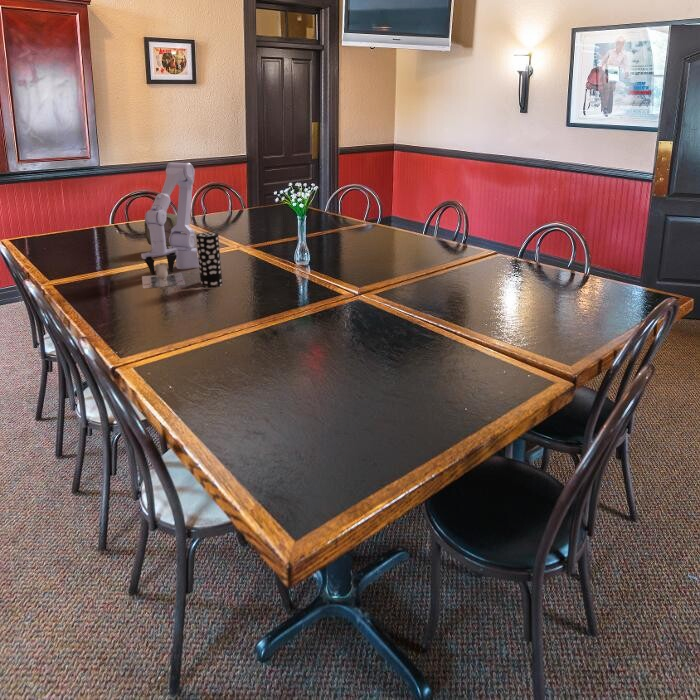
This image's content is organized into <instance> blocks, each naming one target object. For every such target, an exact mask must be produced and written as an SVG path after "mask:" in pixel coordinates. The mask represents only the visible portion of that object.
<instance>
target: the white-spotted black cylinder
mask: <svg viewBox="0 0 700 700" xmlns="http://www.w3.org/2000/svg"><path fill="white" fill-rule="evenodd" d="M195 240H196V248H197V254H198V261H199V269H198V270H199V279H200V285H203V286H202V288H206V289H212V288H213V289H214V288H218V287H221V286H223V274H222V265H221V264H222V263H221V262H222V261H221V251H220V241H219V240H220V239H219V233H218V232H213V231H211V232H209V231H208V232H207V231H206V232H200V233H196V234H195Z"/></svg>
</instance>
